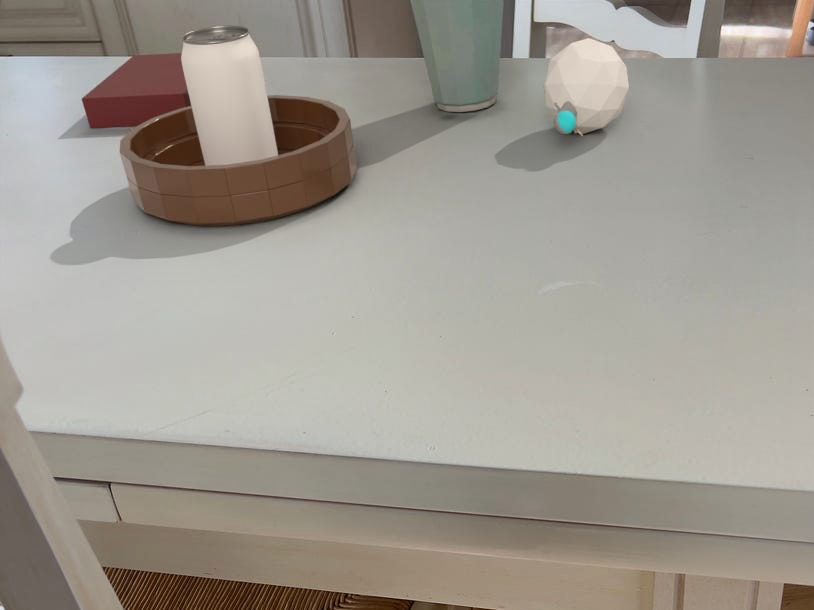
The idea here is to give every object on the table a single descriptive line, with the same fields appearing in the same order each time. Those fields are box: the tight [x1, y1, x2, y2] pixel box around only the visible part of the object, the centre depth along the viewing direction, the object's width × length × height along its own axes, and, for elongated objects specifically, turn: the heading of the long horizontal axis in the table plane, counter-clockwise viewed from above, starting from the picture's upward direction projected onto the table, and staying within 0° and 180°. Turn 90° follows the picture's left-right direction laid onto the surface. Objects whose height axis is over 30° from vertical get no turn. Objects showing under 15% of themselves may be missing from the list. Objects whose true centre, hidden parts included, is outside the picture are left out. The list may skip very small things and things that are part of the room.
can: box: [180, 24, 278, 166], centre depth 87 cm, size 6×6×12 cm
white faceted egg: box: [542, 37, 630, 137], centre depth 94 cm, size 8×8×12 cm
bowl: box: [119, 94, 358, 227], centre depth 90 cm, size 20×20×5 cm
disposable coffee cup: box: [410, 0, 505, 113], centre depth 102 cm, size 11×11×15 cm
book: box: [81, 52, 191, 129], centre depth 113 cm, size 12×17×3 cm
